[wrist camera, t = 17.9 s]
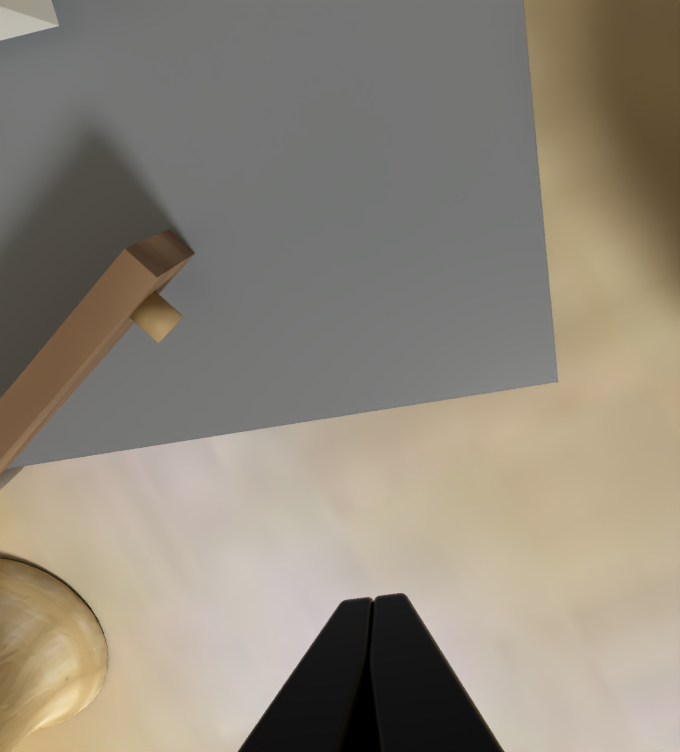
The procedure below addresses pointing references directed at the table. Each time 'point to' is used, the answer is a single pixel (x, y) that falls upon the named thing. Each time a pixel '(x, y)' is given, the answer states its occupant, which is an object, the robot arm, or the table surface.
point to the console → (275, 209)
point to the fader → (25, 17)
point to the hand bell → (44, 652)
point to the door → (92, 336)
